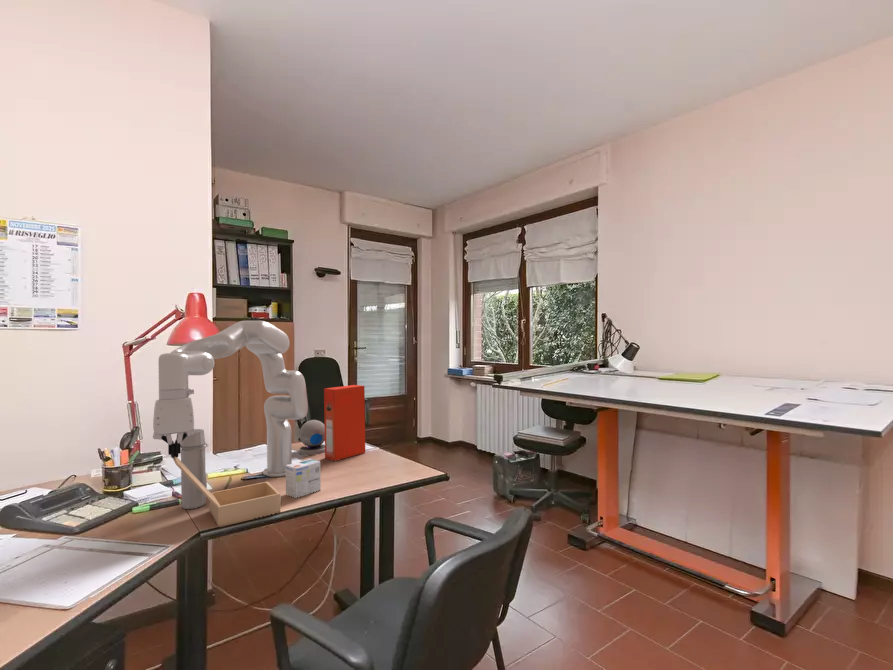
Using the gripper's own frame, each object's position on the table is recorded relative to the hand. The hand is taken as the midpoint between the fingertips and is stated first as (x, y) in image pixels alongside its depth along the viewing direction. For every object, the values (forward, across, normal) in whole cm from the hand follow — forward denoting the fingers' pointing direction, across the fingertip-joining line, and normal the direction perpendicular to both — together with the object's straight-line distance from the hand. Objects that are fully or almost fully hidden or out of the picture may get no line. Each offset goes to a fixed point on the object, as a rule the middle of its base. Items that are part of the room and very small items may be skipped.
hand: (174, 456), depth 134 cm
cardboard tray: (+21, -19, 0) cm, 29 cm away
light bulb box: (+21, -40, -6) cm, 46 cm away
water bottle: (+21, -7, -15) cm, 27 cm away
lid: (+8, -5, 0) cm, 9 cm away
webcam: (+21, -63, -59) cm, 89 cm away
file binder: (+21, -72, -42) cm, 86 cm away
